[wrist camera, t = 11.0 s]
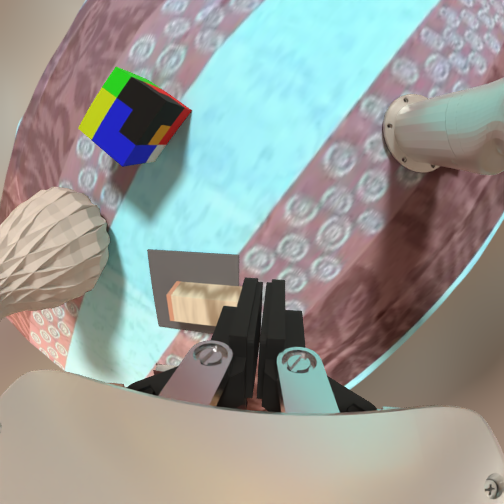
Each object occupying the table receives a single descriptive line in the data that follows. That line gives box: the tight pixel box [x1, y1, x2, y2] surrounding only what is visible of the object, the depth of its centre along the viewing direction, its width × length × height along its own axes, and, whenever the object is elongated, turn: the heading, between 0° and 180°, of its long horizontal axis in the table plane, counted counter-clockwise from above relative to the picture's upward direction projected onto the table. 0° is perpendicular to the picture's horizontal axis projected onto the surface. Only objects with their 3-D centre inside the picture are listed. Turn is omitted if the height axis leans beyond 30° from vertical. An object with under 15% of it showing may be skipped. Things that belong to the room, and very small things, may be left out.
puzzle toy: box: [78, 67, 192, 167], centre depth 33 cm, size 10×10×10 cm
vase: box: [0, 187, 110, 320], centre depth 32 cm, size 20×20×30 cm
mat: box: [147, 249, 239, 333], centre depth 48 cm, size 16×16×1 cm
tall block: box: [166, 281, 242, 326], centre depth 45 cm, size 5×5×12 cm
